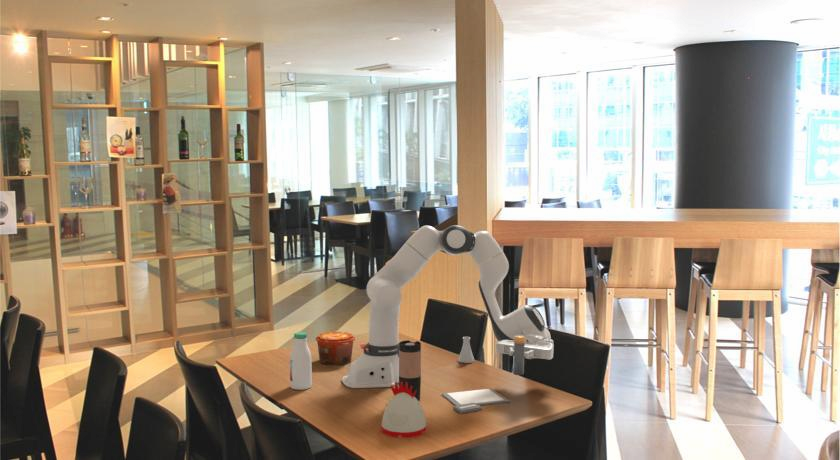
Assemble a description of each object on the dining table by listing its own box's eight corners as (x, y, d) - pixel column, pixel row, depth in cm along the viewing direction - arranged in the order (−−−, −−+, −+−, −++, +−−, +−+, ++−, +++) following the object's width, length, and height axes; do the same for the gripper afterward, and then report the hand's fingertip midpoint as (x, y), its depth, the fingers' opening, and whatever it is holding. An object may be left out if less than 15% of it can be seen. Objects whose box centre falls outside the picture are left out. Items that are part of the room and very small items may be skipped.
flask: (473, 364, 311) (474, 340, 310) (456, 363, 313) (456, 339, 312) (476, 359, 318) (476, 336, 317) (458, 358, 320) (459, 335, 319)
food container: (334, 354, 326) (333, 329, 325) (362, 360, 316) (362, 334, 315) (307, 362, 313) (307, 336, 312) (336, 368, 303) (336, 342, 302)
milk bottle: (315, 385, 281) (315, 332, 279) (304, 391, 274) (303, 336, 272) (298, 382, 284) (297, 329, 282) (286, 388, 277) (285, 334, 275)
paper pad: (457, 407, 257) (457, 405, 257) (441, 394, 271) (441, 392, 271) (509, 402, 263) (509, 400, 263) (490, 389, 277) (490, 387, 277)
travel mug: (404, 404, 260) (404, 346, 258) (394, 398, 267) (395, 341, 265) (424, 401, 264) (425, 344, 262) (414, 394, 270) (414, 339, 268)
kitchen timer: (390, 419, 245) (390, 374, 243) (431, 424, 241) (431, 377, 239) (375, 435, 232) (375, 386, 230) (418, 440, 228) (418, 390, 226)
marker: (516, 375, 262) (517, 338, 261) (511, 372, 266) (512, 336, 265) (526, 374, 264) (527, 337, 262) (521, 371, 267) (522, 335, 266)
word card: (461, 413, 251) (461, 410, 251) (453, 409, 255) (453, 405, 255) (481, 409, 255) (481, 406, 255) (473, 405, 259) (473, 402, 259)
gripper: (502, 333, 280) (490, 341, 267) (557, 340, 271) (547, 349, 259) (502, 350, 281) (489, 359, 268) (557, 357, 272) (546, 367, 260)
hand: (518, 354), depth 263 cm, fingers closed on marker, 4 cm apart
